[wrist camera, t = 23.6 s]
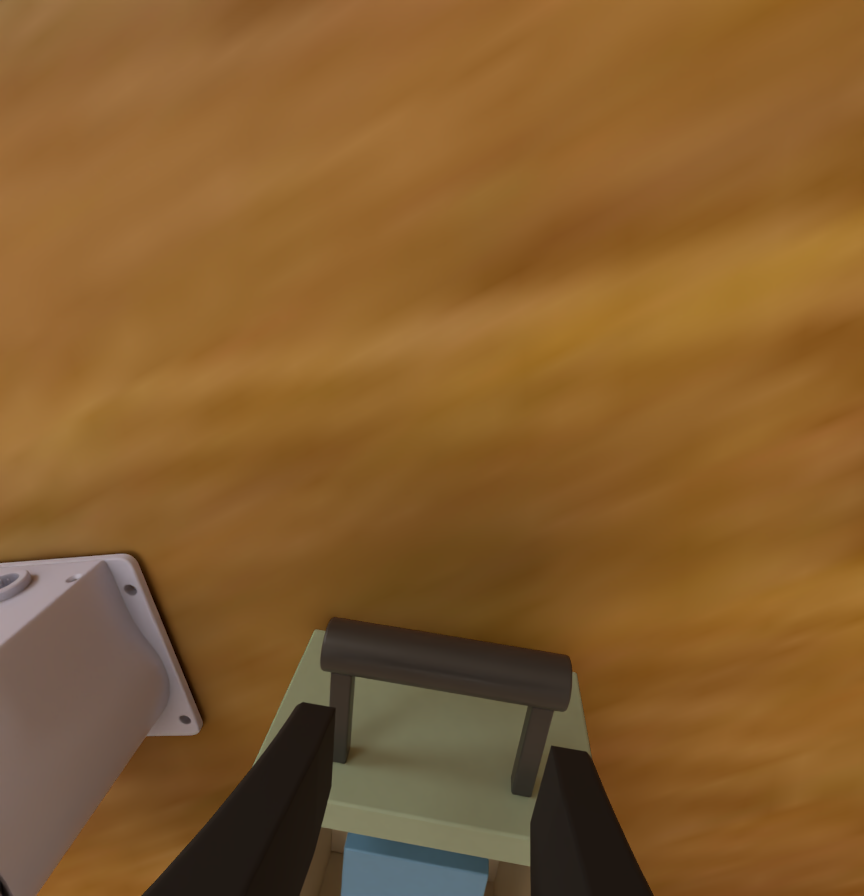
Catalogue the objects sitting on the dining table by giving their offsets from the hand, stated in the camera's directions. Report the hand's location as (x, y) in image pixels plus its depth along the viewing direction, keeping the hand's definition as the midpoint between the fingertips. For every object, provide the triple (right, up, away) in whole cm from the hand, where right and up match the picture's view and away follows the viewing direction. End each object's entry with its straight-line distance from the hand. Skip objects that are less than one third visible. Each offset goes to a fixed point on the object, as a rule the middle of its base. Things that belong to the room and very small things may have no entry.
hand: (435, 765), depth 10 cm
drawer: (0, -6, +13) cm, 14 cm away
